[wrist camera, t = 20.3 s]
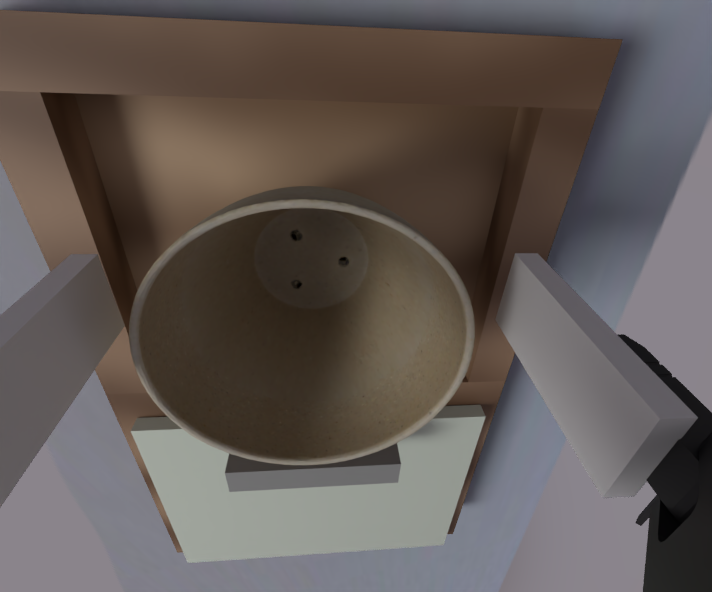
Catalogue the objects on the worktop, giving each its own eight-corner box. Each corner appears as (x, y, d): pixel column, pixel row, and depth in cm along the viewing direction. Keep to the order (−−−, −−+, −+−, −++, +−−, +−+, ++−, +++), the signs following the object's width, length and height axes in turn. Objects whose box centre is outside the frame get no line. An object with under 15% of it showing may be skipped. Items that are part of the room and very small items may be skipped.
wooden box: (-11, 12, 12) (-70, 6, 10) (582, 40, 14) (623, 39, 12) (186, 520, 29) (177, 552, 27) (444, 504, 31) (452, 533, 29)
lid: (136, 417, 20) (107, 479, 17) (480, 404, 21) (504, 458, 18) (191, 550, 27) (176, 607, 24) (440, 533, 29) (453, 585, 26)
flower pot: (426, 324, 20) (470, 443, 14) (237, 353, 20) (202, 483, 14) (418, 118, 15) (486, 169, 9) (158, 159, 15) (48, 238, 9)
